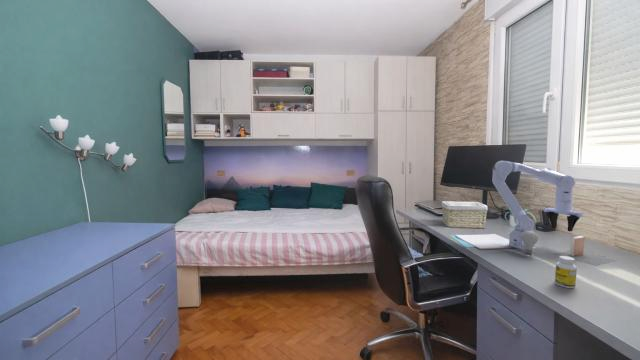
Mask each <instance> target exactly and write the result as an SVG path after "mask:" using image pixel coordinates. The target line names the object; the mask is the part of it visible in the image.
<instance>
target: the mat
mask: <svg viewBox="0 0 640 360" xmlns="http://www.w3.org/2000/svg"><path fill="white" fill-rule="evenodd" d="M554 255H557V256H568V257H572V258H574V259H575V261H577V262H582V263H585V264H588V265H591V266H601V265H606V264H610V263H614V262H618V260H617V259H613V258H610V257H606V256H601V255H599V254H594V253H590V252H588V251H583V254H582V255H577V256H571V255H570V250H565V251H560V252H556V253H554Z"/></svg>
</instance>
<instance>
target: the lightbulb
mask: <svg viewBox="0 0 640 360" xmlns="http://www.w3.org/2000/svg"><path fill="white" fill-rule="evenodd" d="M521 238H522V240H523V242H524V245H525V251H524V253H525V254H528V255H532V254H533V250H534V248H535V245H536V244H537V243H538V240H539V235H538V234H537V233H536V232H535V231H525V232H523V233H522V235H521ZM533 247H534V248H533Z"/></svg>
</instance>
